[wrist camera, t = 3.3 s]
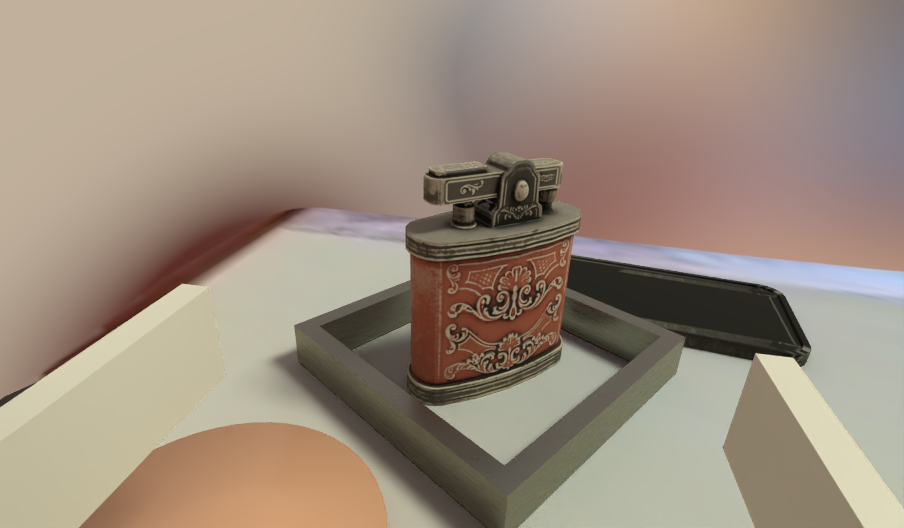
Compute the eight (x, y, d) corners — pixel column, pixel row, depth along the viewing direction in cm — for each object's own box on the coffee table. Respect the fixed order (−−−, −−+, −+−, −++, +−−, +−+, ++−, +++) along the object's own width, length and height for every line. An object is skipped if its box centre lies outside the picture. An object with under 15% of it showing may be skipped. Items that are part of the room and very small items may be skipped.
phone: (817, 359, 24) (509, 299, 28) (809, 378, 24) (508, 317, 29) (780, 287, 31) (536, 248, 35) (774, 303, 31) (534, 262, 36)
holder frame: (676, 372, 24) (685, 337, 23) (503, 541, 16) (507, 496, 15) (480, 281, 32) (481, 252, 31) (298, 361, 24) (294, 325, 23)
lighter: (532, 329, 27) (554, 140, 23) (576, 363, 24) (610, 156, 20) (394, 372, 23) (389, 156, 19) (428, 418, 21) (431, 179, 16)
